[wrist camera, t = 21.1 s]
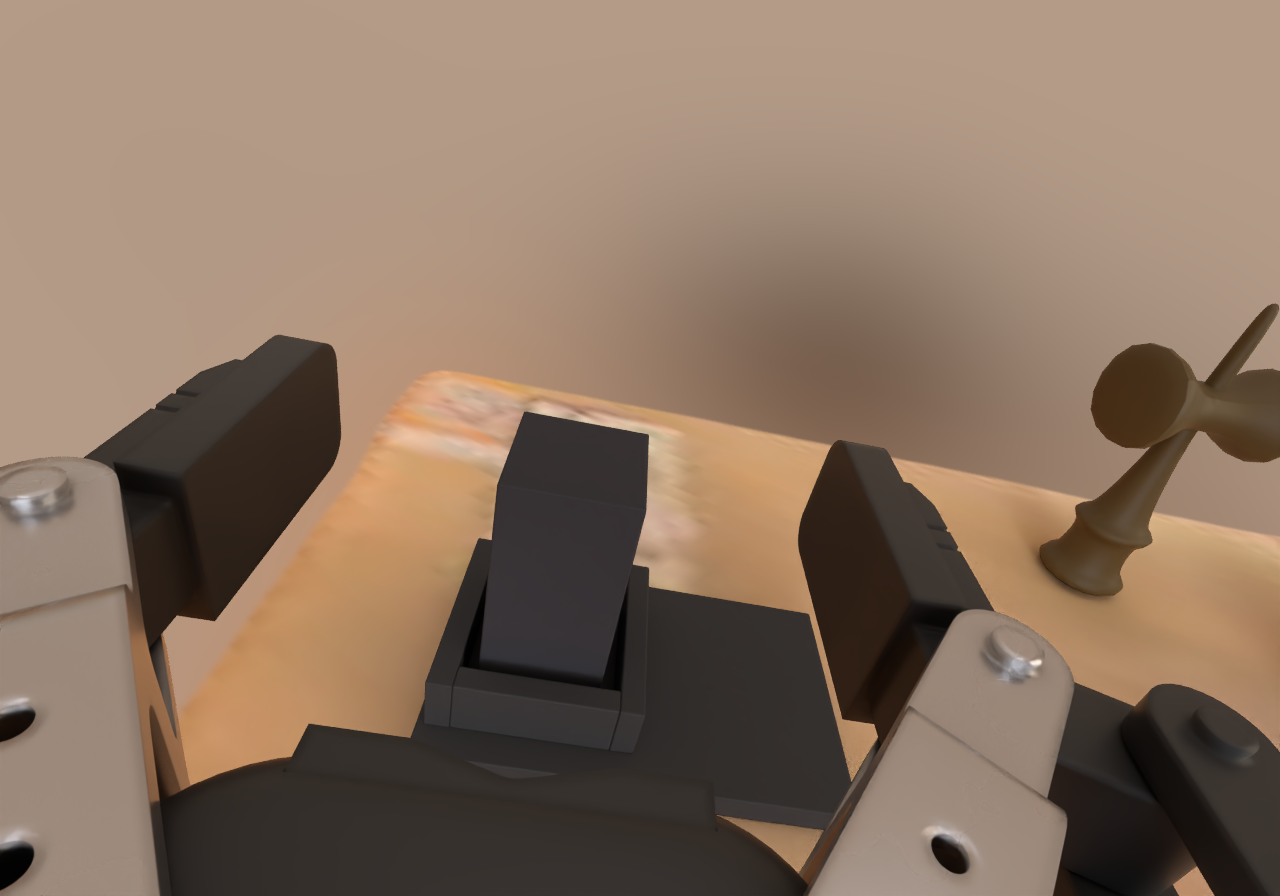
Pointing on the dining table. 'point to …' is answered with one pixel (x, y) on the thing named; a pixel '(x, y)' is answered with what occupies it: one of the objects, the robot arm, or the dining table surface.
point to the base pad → (654, 703)
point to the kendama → (1163, 445)
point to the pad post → (562, 548)
